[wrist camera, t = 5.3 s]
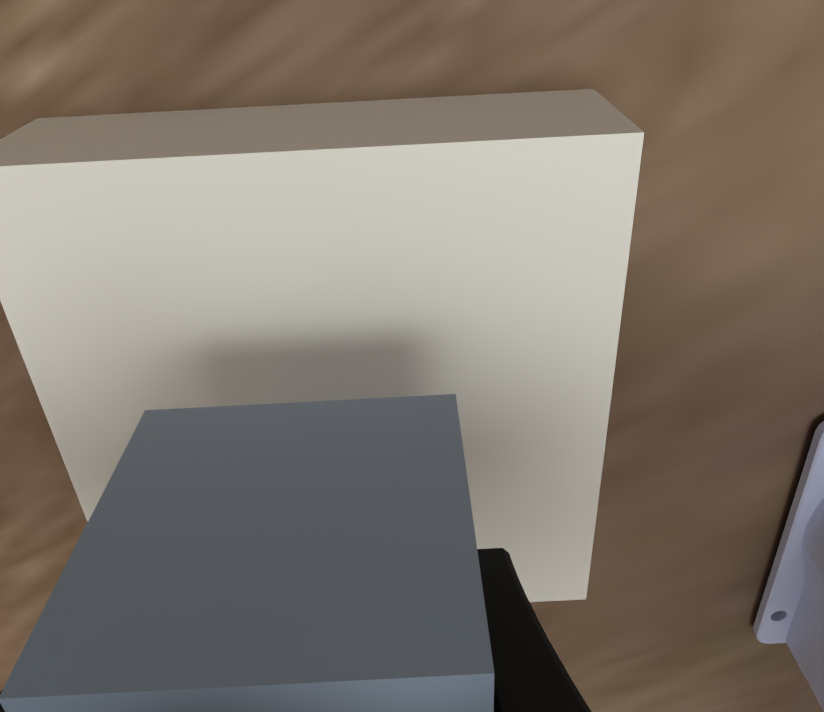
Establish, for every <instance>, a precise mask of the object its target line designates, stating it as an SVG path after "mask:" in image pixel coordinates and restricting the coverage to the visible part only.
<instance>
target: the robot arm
mask: <svg viewBox="0 0 824 712" xmlns="http://www.w3.org/2000/svg"><path fill="white" fill-rule="evenodd" d="M477 551H478V558H479V566H480V573H481V580H482V587H483V594H484V602H485V609H486V616H487V623H488V630H489V638H490V645H491V652H492V659H493V666H494V712H591V710H590V709H589V707H588V706H587V704H586V702H585V701H584V699H583V698H582V696H581V694H580V693H579V691H578V690H577V688H576V686H575V685H574V683H573V681H572V680H571V678H570V676H569V675H568V673H567V671H566V669H565V668H564V666H563V664H562V662H561V661H560V659H559V657H558V655H557V654H556V652H555V650H554V648H553V647H552V645H551V643H550V641H549V640H548V638H547V636H546V634H545V632H544V630H543V628H542V626H541V624H540V623H539V621H538V619H537V617H536V614H535V612H534V610H533V608H532V606H531V604H530V602H529V600H528V598H527V596H526V594H525V592H524V590H523V587H522V585H521V583H520V580H519V578H518V576H517V573H516V571H515V568H514V566H513V563H512V560H511V557H510V554H509V552H507V551H506V550H505V549H503V548H491V549H477ZM753 632H754V634H755V636H756V638H757V639H758V641H759V642H762V643H766V644H775V643H787V645H788V647H789V649H790V651H791V653H792V654H793V656H794V658H795V660H796V662H797V664H798V665H799V667H800V669H801V671H802V673H803V675H804V676H805V678H806V680H807V682H808V684H809V686H810V688H811V689H812V691H813V693H814V695H815V697H816V699H817V700H818V702H819V704H820V706H821V708H822V710H823V711H824V421H823V422H822V423H820V424H819V425H818V427H817V429H816V430H815V433H814V436H813V439H812V443H811V446H810V449H809V452H808V455H807V458H806V461H805V465H804V468H803V471H802V474H801V477H800V480H799V484H798V487H797V490H796V493H795V496H794V499H793V503H792V506H791V509H790V512H789V515H788V518H787V521H786V525H785V528H784V531H783V534H782V537H781V540H780V544H779V547H778V550H777V553H776V556H775V559H774V563H773V566H772V569H771V572H770V575H769V578H768V581H767V585H766V588H765V591H764V594H763V597H762V600H761V604H760V607H759V610H758V613H757V616H756V619H755V623H754V626H753ZM1 692H2V691H1ZM1 692H0V694H1ZM0 712H5V710H4V709H3V707H2V705H1V703H0Z"/></svg>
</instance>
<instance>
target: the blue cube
mask: <svg viewBox="0 0 824 712" xmlns="http://www.w3.org/2000/svg"><path fill="white" fill-rule="evenodd" d="M0 703H1V705H2V707H3V709H4V710H5V712H494V666H493V659H492V652H491V645H490V638H489V630H488V623H487V616H486V609H485V602H484V594H483V587H482V580H481V573H480V566H479V558H478V551H477V544H476V537H475V530H474V522H473V515H472V508H471V501H470V493H469V486H468V479H467V472H466V465H465V457H464V450H463V443H462V436H461V429H460V421H459V414H458V407H457V400H456V394H445V395H426V396H407V397H388V398H369V399H350V400H331V401H312V402H293V403H273V404H254V405H235V406H216V407H197V408H178V409H159V410H145V411H144V413H143V415H142V417H141V419H140V421H139V423H138V425H137V427H136V429H135V431H134V433H133V435H132V437H131V439H130V441H129V443H128V445H127V447H126V448H125V450H124V452H123V454H122V456H121V458H120V460H119V462H118V464H117V466H116V468H115V470H114V472H113V474H112V476H111V478H110V480H109V482H108V484H107V486H106V488H105V490H104V492H103V494H102V496H101V498H100V500H99V501H98V503H97V505H96V507H95V509H94V511H93V513H92V515H91V517H90V519H89V521H88V523H87V525H86V527H85V529H84V531H83V533H82V535H81V537H80V539H79V541H78V543H77V545H76V547H75V549H74V551H73V553H72V555H71V556H70V558H69V560H68V562H67V564H66V566H65V568H64V570H63V572H62V574H61V576H60V578H59V580H58V582H57V584H56V586H55V588H54V590H53V592H52V594H51V596H50V598H49V600H48V602H47V604H46V606H45V608H44V609H43V611H42V613H41V615H40V617H39V619H38V621H37V623H36V625H35V627H34V629H33V631H32V633H31V635H30V637H29V639H28V641H27V643H26V645H25V647H24V649H23V651H22V653H21V655H20V657H19V659H18V661H17V663H16V664H15V666H14V668H13V670H12V672H11V674H10V676H9V678H8V680H7V682H6V684H5V686H4V688H3V690H2V692H1V694H0Z"/></svg>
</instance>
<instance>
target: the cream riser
mask: <svg viewBox="0 0 824 712" xmlns="http://www.w3.org/2000/svg"><path fill="white" fill-rule="evenodd" d="M643 138H644V132H643V131H642V130H641V129H640V128H638V127H637V126H636V125H635V124H634V123H633V122H632V121H630V120H629V119H628V118H627V117H626V116H625V115H623V114H622V113H621V112H620V111H619V110H618V109H616V108H615V107H614V106H613V105H612V104H611V103H609V102H608V101H607V100H606V99H605V98H604V97H602V96H601V95H600V94H599V93H598V92H597V91H596V90H594V89H579V90H561V91H542V92H523V93H504V94H485V95H466V96H448V97H429V98H410V99H391V100H372V101H354V102H335V103H316V104H297V105H278V106H259V107H241V108H222V109H203V110H184V111H165V112H147V113H128V114H109V115H90V116H71V117H52V118H37V119H35V120H33V121H31V122H30V123H28V124H26V125H24V126H23V127H21V128H19V129H17V130H16V131H14V132H12V133H11V134H9V135H7V136H5V137H4V138H2V139H0V301H1V304H2V306H3V309H4V311H5V314H6V316H7V319H8V321H9V324H10V326H11V329H12V332H13V334H14V337H15V339H16V342H17V344H18V347H19V349H20V352H21V354H22V357H23V359H24V362H25V365H26V367H27V370H28V372H29V375H30V377H31V380H32V382H33V385H34V387H35V390H36V392H37V395H38V398H39V400H40V403H41V405H42V408H43V410H44V413H45V415H46V418H47V420H48V423H49V425H50V428H51V431H52V433H53V436H54V438H55V441H56V443H57V446H58V448H59V451H60V453H61V456H62V459H63V461H64V464H65V466H66V469H67V471H68V474H69V476H70V479H71V481H72V484H73V486H74V489H75V492H76V494H77V497H78V499H79V502H80V504H81V507H82V509H83V512H84V514H85V517H86V519H87V522H88V521H89V519H90V517H91V515H92V513H93V511H94V509H95V507H96V505H97V503H98V501H99V500H100V498H101V496H102V494H103V492H104V490H105V488H106V486H107V484H108V482H109V480H110V478H111V476H112V474H113V472H114V470H115V468H116V466H117V464H118V462H119V460H120V458H121V456H122V454H123V452H124V450H125V448H126V447H127V445H128V443H129V441H130V439H131V437H132V435H133V433H134V431H135V429H136V427H137V425H138V423H139V421H140V419H141V417H142V415H143V413H144V411H145V410H159V409H178V408H197V407H216V406H235V405H254V404H273V403H293V402H312V401H331V400H350V399H369V398H388V397H407V396H426V395H445V394H456V400H457V407H458V414H459V421H460V429H461V436H462V443H463V450H464V457H465V465H466V472H467V479H468V486H469V493H470V501H471V508H472V515H473V522H474V530H475V537H476V544H477V549H491V548H503V549H505V550H506V551H507V552H509V554H510V557H511V560H512V563H513V566H514V568H515V571H516V573H517V576H518V578H519V580H520V583H521V585H522V587H523V590H524V592H525V594H526V596H527V598H528V600H529V602H541V601H561V600H581V599H586V596H587V588H588V580H589V572H590V564H591V556H592V548H593V540H594V532H595V524H596V516H597V508H598V500H599V491H600V483H601V475H602V467H603V459H604V451H605V443H606V435H607V427H608V419H609V411H610V403H611V395H612V387H613V379H614V371H615V363H616V355H617V347H618V339H619V331H620V323H621V315H622V306H623V298H624V290H625V282H626V274H627V266H628V258H629V250H630V242H631V234H632V226H633V218H634V210H635V202H636V194H637V186H638V178H639V170H640V162H641V154H642V146H643Z"/></svg>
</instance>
